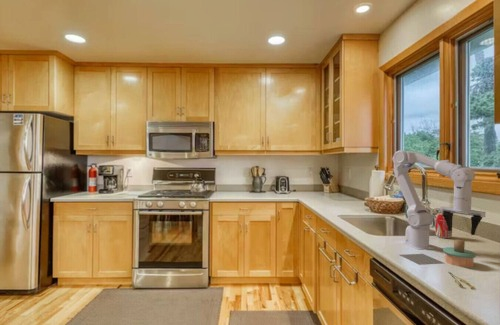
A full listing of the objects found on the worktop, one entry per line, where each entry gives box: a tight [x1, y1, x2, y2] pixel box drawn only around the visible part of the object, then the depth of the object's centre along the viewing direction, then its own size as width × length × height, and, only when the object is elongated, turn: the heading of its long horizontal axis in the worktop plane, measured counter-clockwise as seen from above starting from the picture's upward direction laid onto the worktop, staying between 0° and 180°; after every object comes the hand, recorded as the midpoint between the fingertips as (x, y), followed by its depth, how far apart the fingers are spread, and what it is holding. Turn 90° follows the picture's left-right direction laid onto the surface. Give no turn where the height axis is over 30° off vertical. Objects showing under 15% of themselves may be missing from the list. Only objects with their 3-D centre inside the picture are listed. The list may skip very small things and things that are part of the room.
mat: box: [399, 253, 444, 266], centre depth 115 cm, size 11×11×1 cm
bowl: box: [444, 253, 475, 268], centre depth 111 cm, size 8×8×4 cm
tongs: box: [448, 271, 476, 290], centre depth 95 cm, size 4×13×2 cm, turn 174°
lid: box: [442, 239, 477, 258], centre depth 111 cm, size 10×10×5 cm
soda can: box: [435, 212, 453, 239], centre depth 151 cm, size 7×7×12 cm
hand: (461, 232), depth 117 cm, fingers open, 7 cm apart
